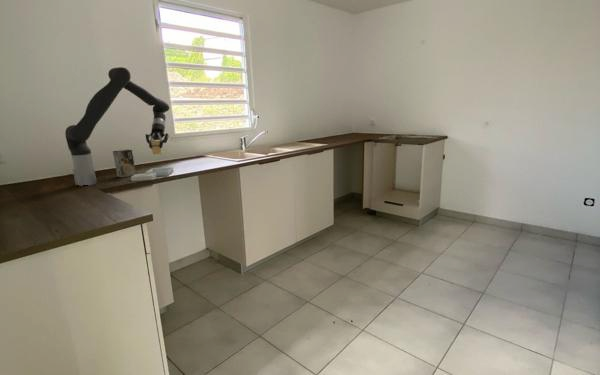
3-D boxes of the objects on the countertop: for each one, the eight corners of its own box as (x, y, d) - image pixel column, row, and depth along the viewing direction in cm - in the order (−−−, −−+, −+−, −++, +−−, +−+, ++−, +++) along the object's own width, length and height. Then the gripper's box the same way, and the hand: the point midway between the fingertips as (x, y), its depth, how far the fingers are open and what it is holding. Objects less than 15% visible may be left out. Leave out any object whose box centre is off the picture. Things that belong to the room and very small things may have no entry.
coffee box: (131, 173, 211) (127, 149, 207) (136, 174, 207) (132, 149, 203) (116, 176, 204) (112, 151, 200) (121, 177, 200) (117, 151, 196)
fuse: (152, 154, 202) (151, 141, 200) (153, 153, 203) (151, 141, 201) (161, 153, 202) (159, 141, 200) (161, 153, 204) (160, 140, 202)
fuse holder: (131, 180, 190) (130, 176, 189) (135, 178, 196) (135, 174, 196) (152, 179, 191) (152, 175, 190) (156, 177, 198) (155, 173, 197)
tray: (146, 177, 199) (145, 172, 198) (152, 172, 211) (152, 168, 211) (168, 175, 200) (167, 171, 200) (173, 171, 213) (173, 167, 212)
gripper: (144, 123, 204) (141, 144, 196) (168, 122, 206) (165, 143, 197) (148, 131, 211) (145, 152, 202) (171, 130, 212) (169, 150, 204)
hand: (155, 147), depth 200 cm, fingers closed on fuse, 5 cm apart
